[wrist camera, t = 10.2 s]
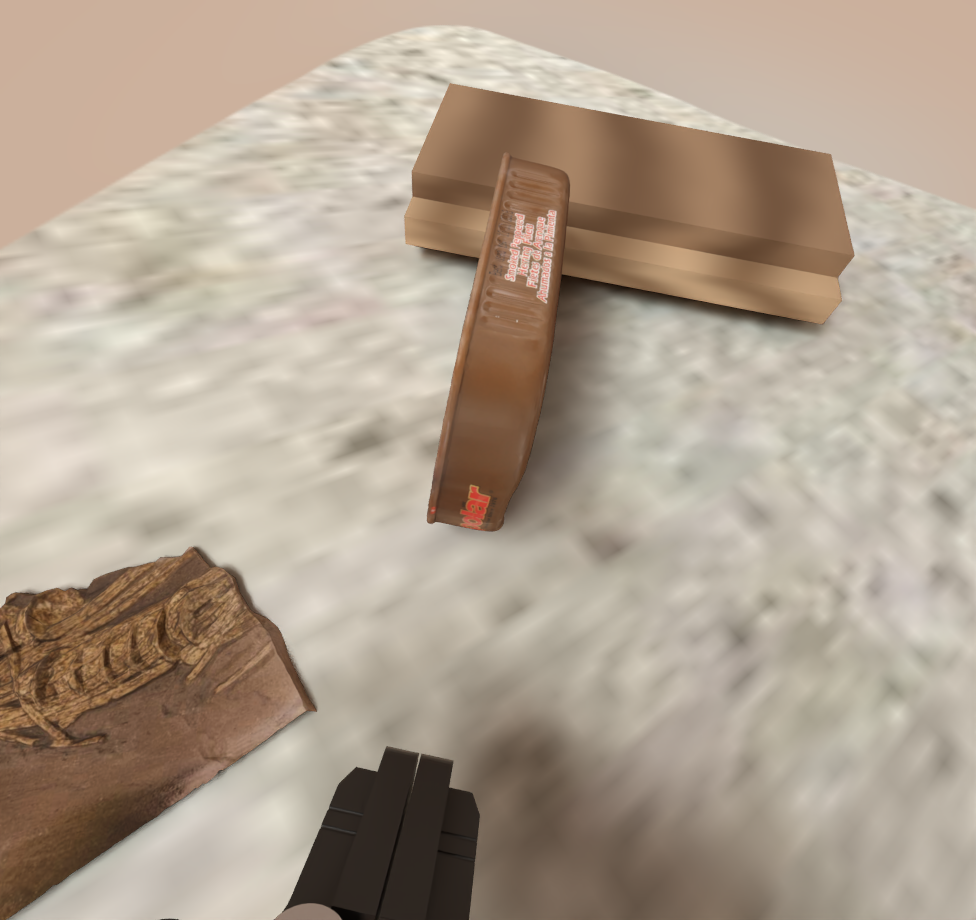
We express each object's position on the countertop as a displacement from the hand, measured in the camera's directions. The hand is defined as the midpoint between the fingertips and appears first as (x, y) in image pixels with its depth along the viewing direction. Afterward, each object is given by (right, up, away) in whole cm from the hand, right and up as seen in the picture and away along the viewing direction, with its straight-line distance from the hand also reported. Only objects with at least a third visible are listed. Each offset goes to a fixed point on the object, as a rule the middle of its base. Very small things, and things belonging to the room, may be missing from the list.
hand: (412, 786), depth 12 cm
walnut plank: (+8, +19, +19) cm, 28 cm away
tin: (+2, +9, +12) cm, 16 cm away
